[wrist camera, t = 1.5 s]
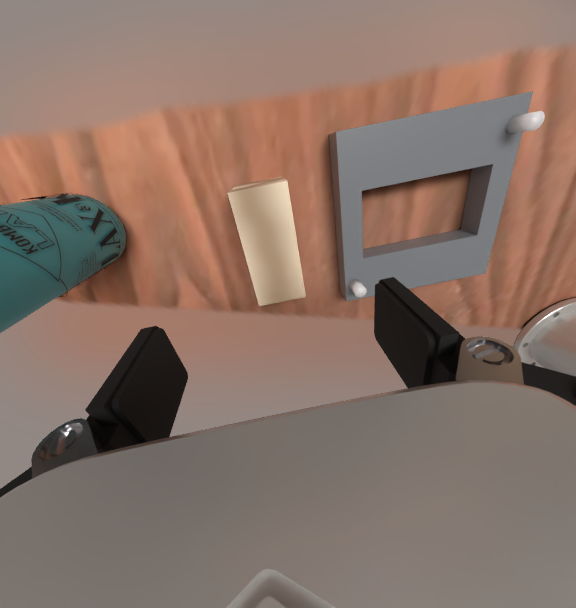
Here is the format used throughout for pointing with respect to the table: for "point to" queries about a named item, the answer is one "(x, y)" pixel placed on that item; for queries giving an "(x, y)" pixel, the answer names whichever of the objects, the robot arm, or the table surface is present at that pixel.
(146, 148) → the table surface
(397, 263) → the slot board
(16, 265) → the beverage bottle
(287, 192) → the key block
